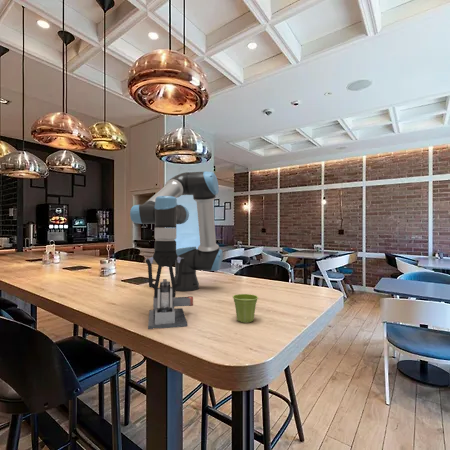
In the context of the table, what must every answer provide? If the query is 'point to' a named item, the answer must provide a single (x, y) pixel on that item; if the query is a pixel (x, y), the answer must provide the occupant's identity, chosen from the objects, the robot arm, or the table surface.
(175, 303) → the grey machine part
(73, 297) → the table surface
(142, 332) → the table surface
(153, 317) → the base
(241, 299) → the plant pot
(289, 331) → the table surface
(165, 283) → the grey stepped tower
